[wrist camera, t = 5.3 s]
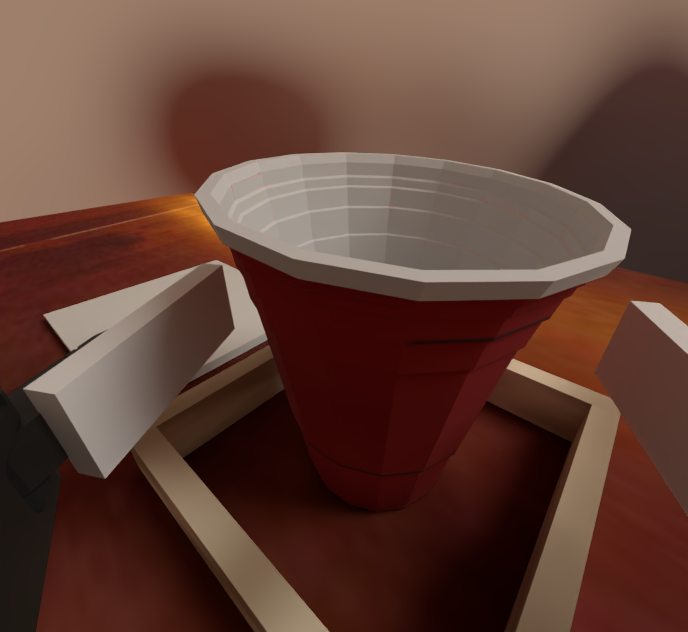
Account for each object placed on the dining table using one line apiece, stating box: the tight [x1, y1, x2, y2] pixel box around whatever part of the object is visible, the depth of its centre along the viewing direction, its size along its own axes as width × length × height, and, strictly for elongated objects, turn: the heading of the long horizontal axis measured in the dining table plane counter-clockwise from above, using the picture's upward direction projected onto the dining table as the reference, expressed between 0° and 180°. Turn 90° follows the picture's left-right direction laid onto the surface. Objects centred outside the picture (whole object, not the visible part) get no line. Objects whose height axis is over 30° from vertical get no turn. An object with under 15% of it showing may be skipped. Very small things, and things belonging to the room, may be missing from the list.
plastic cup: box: [195, 152, 631, 512], centre depth 12 cm, size 11×11×12 cm
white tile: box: [44, 260, 267, 382], centre depth 25 cm, size 14×14×1 cm
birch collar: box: [130, 346, 620, 632], centre depth 15 cm, size 15×15×2 cm
